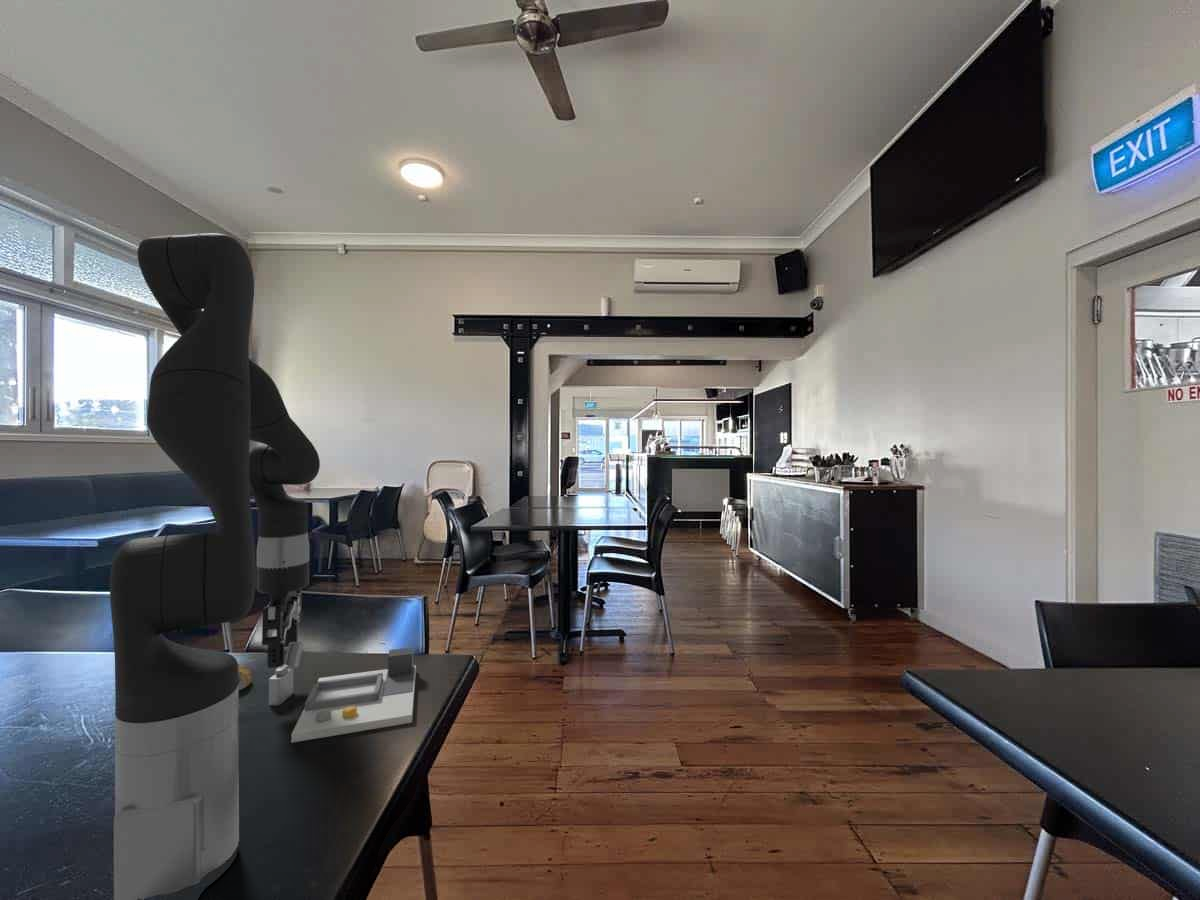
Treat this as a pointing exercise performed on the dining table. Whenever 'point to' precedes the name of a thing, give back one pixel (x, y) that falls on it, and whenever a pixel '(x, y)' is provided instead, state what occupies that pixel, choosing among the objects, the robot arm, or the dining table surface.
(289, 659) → the lighter
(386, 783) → the dining table surface
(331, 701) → the board
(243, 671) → the pastry
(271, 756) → the dining table surface
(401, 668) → the block
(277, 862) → the dining table surface
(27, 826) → the dining table surface
